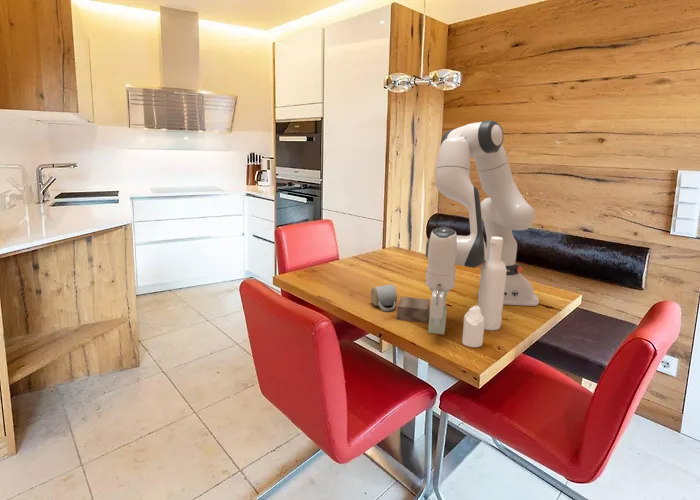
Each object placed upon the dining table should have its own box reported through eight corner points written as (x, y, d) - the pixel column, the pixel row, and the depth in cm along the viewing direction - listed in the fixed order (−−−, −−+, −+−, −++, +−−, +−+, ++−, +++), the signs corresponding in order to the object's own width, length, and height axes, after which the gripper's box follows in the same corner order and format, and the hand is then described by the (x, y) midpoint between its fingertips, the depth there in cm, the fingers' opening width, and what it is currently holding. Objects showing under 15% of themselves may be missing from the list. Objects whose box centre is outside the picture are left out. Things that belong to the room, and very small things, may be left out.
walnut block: (428, 312, 153) (429, 299, 152) (426, 323, 143) (427, 309, 142) (400, 309, 155) (401, 296, 154) (396, 319, 146) (397, 306, 145)
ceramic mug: (369, 302, 161) (370, 283, 159) (389, 300, 163) (390, 281, 161) (379, 313, 151) (380, 293, 149) (400, 311, 153) (401, 291, 151)
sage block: (445, 328, 139) (447, 305, 137) (444, 334, 134) (445, 310, 133) (429, 326, 140) (431, 303, 139) (428, 332, 136) (429, 308, 134)
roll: (465, 308, 124) (464, 301, 129) (462, 346, 127) (461, 338, 132) (486, 310, 123) (485, 303, 128) (483, 348, 126) (481, 340, 131)
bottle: (479, 330, 138) (488, 240, 131) (472, 320, 145) (480, 234, 138) (504, 331, 138) (514, 240, 131) (496, 321, 145) (505, 235, 138)
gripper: (448, 291, 123) (445, 336, 126) (452, 272, 142) (449, 311, 145) (426, 289, 124) (423, 333, 128) (433, 270, 144) (430, 308, 147)
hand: (437, 321), depth 137 cm, fingers closed on sage block, 5 cm apart
